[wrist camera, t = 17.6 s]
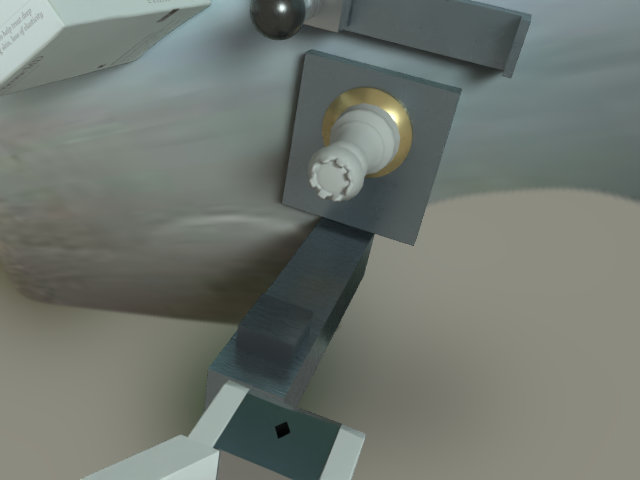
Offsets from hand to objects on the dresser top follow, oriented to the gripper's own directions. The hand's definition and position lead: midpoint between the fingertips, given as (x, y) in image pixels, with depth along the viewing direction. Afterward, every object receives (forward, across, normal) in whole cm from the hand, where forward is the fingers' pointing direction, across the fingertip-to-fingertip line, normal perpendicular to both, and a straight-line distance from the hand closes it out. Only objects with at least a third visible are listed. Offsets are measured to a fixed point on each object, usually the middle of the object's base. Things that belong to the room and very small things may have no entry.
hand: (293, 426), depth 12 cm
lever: (+27, +9, -4) cm, 29 cm away
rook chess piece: (+28, +5, +4) cm, 28 cm away
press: (+29, +5, +5) cm, 30 cm away
